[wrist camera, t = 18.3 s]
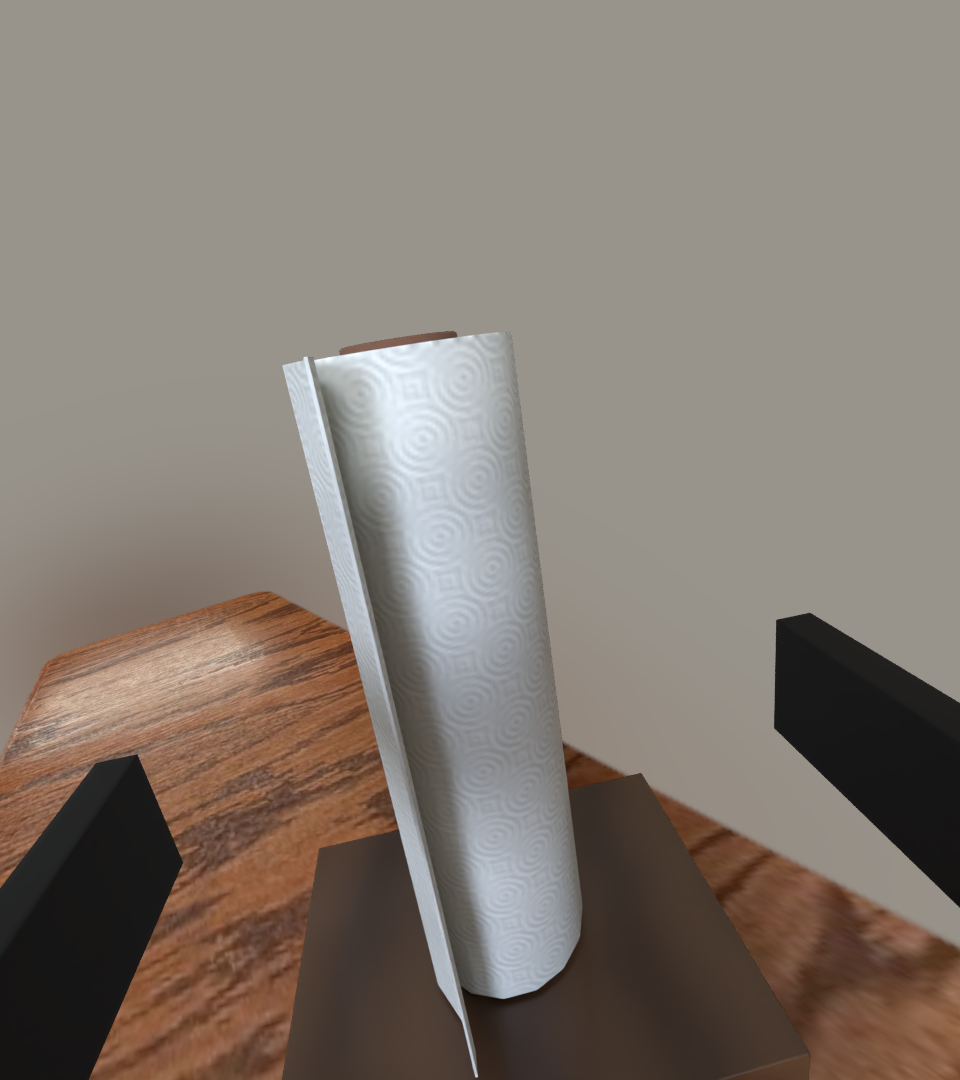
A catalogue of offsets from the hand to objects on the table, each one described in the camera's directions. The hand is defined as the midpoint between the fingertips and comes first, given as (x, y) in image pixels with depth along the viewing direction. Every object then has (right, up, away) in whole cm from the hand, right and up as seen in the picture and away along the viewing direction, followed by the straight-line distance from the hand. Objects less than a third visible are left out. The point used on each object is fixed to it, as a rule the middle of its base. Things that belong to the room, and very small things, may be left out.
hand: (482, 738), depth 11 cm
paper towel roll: (+1, -11, +10) cm, 15 cm away
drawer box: (+2, -18, +12) cm, 22 cm away
